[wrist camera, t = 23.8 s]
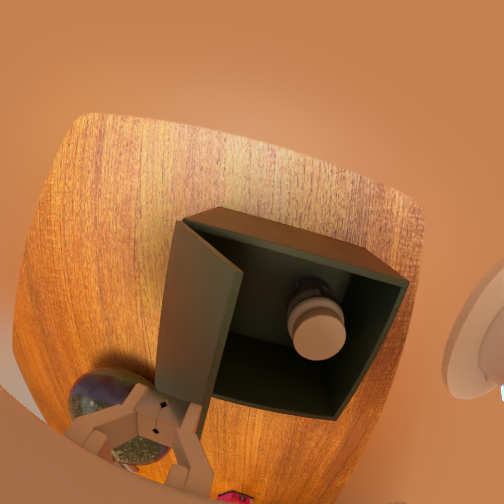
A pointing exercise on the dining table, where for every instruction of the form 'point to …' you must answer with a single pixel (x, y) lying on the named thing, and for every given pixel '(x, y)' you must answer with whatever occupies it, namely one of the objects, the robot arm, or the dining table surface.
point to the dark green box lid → (194, 318)
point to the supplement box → (235, 498)
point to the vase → (107, 395)
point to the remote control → (127, 467)
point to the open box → (275, 314)
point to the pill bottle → (314, 318)
